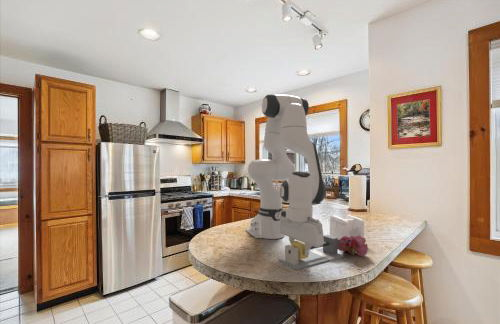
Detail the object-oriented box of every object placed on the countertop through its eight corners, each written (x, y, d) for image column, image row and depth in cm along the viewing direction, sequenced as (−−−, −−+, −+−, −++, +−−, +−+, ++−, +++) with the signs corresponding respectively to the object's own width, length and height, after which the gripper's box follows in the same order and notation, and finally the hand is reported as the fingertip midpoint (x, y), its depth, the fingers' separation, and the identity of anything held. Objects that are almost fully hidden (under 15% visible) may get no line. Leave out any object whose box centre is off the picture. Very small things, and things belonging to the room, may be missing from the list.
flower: (340, 258, 104) (348, 237, 107) (363, 267, 96) (371, 244, 100) (329, 247, 98) (338, 225, 101) (353, 256, 90) (362, 232, 93)
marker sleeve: (291, 255, 92) (291, 241, 92) (298, 253, 94) (299, 240, 94) (300, 259, 87) (300, 245, 88) (308, 257, 90) (308, 244, 90)
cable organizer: (365, 245, 111) (366, 220, 111) (345, 246, 109) (345, 221, 109) (346, 236, 126) (347, 213, 126) (328, 237, 124) (328, 214, 124)
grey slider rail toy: (278, 260, 92) (278, 241, 92) (323, 249, 105) (324, 233, 105) (296, 270, 83) (297, 249, 83) (343, 256, 96) (343, 239, 96)
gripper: (328, 219, 84) (327, 259, 83) (289, 209, 101) (288, 243, 101) (315, 221, 80) (314, 263, 80) (277, 211, 98) (276, 245, 98)
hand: (299, 251), depth 91 cm, fingers closed on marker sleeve, 5 cm apart
